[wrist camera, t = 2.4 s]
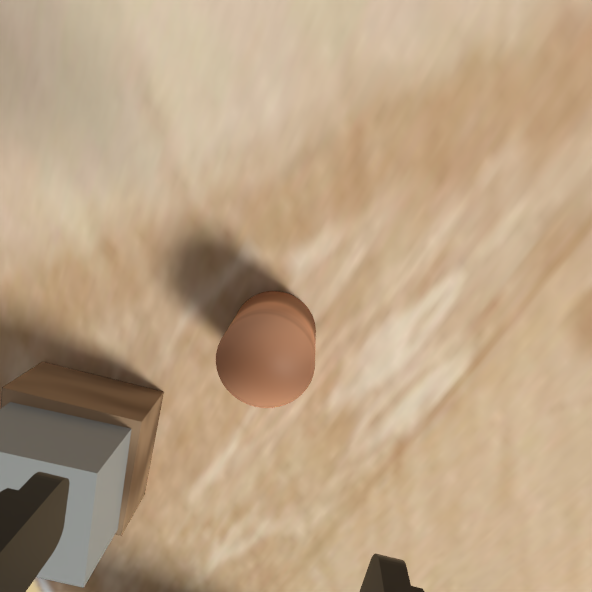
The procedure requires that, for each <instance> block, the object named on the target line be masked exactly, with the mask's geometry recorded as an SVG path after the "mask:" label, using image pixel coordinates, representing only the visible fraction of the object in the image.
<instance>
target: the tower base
mask: <svg viewBox="0 0 592 592" xmlns="http://www.w3.org/2000/svg"><path fill="white" fill-rule="evenodd" d="M163 393H164V392H163V391H159V390H155V389H150V388H146V387H142V386H138V385H134V384H130V383H126V382H122V381H118V380H114V379H110V378H106V377H102V376H98V375H94V374H90V373H86V372H82V371H78V370H74V369H70V368H66V367H62V366H58V365H54V364H50V363H46V362H41V363H39V364H38V365H36V366H35V367H33V368H32V369H30V370H29V371H27V372H26V373H24V374H23V375H21V376H19V377H18V378H16V379H15V380H13V381H12V382H10V383H9V384H7V385H6V386H4V387H3V388H2V399H1V408H2V407H4V406H5V405H7V404H8V403H10V402H13V403H17V404H22V405H26V406H31V407H35V408H40V409H45V410H49V411H54V412H58V413H63V414H67V415H72V416H76V417H81V418H85V419H90V420H94V421H99V422H104V423H108V424H113V425H117V426H122V427H126V428H131V436H130V444H129V451H128V458H127V465H126V473H125V480H124V487H123V495H122V502H121V509H120V516H119V524H118V530H117V531H116V533H115V534H116V535H120V536H122V534H123V532H124V531H125V529H126V527H127V525H128V523H129V522H130V520H131V518H132V516H133V514H134V513H135V511H136V509H137V507H138V505H139V504H140V502H141V500H142V498H143V496H144V495H145V490H146V485H147V479H148V474H149V469H150V463H151V458H152V452H153V447H154V442H155V436H156V431H157V426H158V420H159V415H160V410H161V404H162V399H163Z"/></svg>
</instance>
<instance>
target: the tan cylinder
mask: <svg viewBox="0 0 592 592" xmlns="http://www.w3.org/2000/svg"><path fill="white" fill-rule="evenodd" d="M315 333H316V330H315V322H314V319H313V316H312V314H311V312H310V310H309V309H308V308H307V306H306V305H305V304H304V303H303V302H302V301H301V300H299V299H298V298H296V297H295V296H293V295H291V294H288V293H285V292H280V291H267V292H262V293H259V294H257V295H255V296H253V297H251V298H250V299H248V300H247V301H246V302H245V303H244V304H243V305H242V307H241V308H240V310H239V311H238V313H237V314H236V316H235V318H234V319H233V321H232V323H231V324H230V326H229V327H228V329H227V331H226V332H225V334H224V336H223V337H222V339H221V341H220V343H219V345H218V349H217V353H216V366H217V371H218V375H219V377H220V379H221V381H222V383H223V385H224V386H225V387H226V389H227V390H228V391H229V392H230V393H231V394H232V395H233V396H235V397H236V398H237V399H239V400H240V401H242V402H244V403H246V404H249V405H252V406H256V407H261V408H273V407H279V406H283V405H286V404H288V403H290V402H292V401H294V400H295V399H297V398H298V397H299V396H300V395H301V394H302V393H303V392H304V391H305V390H306V389H307V387H308V386H309V384H310V382H311V380H312V377H313V374H314V369H315Z"/></svg>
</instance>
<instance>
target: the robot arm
mask: <svg viewBox="0 0 592 592" xmlns="http://www.w3.org/2000/svg"><path fill="white" fill-rule="evenodd" d="M69 484H70V483H69V479H68V478H64V477H60V476H56V475H52V474H48V473H44V472H37V473H35V474H34V475H33V476H32V477H31V478H30V479H29V480H28V481H27V482H26V483H25V484H24V485H23V486H22V487H21V488H20V489H19V490H15V489H11V488H6V489H4V490H3V491H1V492H0V592H26V590H27V589H28V587H29V586H30V585H31V583H32V582H33V580H34V579H35V578H36V576H37V575H38V573H39V572H40V571H41V569H42V568H43V566H44V565H45V564H46V562H47V561H48V559H49V558H50V557H51V555H52V554H53V552H54V550H55V549H56V547H57V545H58V543H59V540H60V538H61V535H62V532H63V529H64V523H65V515H66V508H67V500H68V493H69ZM360 592H424V590H423V589H422V588H417V587H413V586H411V585H410V580H409V576H408V572H407V567H406V564H405V562H404V561H403V560H400V559H396V558H391V557H387V556H383V555H379V554H374V555H373V556H372V558H371V561H370V564H369V567H368V570H367V572H366V575H365V578H364V581H363V584H362V586H361V589H360Z"/></svg>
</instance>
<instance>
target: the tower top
mask: <svg viewBox="0 0 592 592" xmlns="http://www.w3.org/2000/svg"><path fill="white" fill-rule="evenodd" d="M130 436H131V428H126V427H122V426H117V425H113V424H108V423H104V422H99V421H94V420H90V419H85V418H81V417H76V416H72V415H67V414H63V413H58V412H54V411H49V410H45V409H40V408H35V407H31V406H26V405H22V404H17V403H13V402H10V403H8V404H7V405H5V406H4V407H2V408H1V409H0V492H1V491H3V490H4V489H6V488H11V489H15V490H19V489H20V488H21V487H22V486H23V485H24V484H25V483H26V482H27V481H28V480H29V479H30V478H31V477H32V476H33V475H34V474H35V473H37V472H44V473H48V474H52V475H56V476H60V477H64V478H68V479H69V483H70V484H69V493H68V500H67V508H66V515H65V523H64V529H63V532H62V535H61V538H60V540H59V543H58V545H57V547H56V549H55V550H54V552H53V554H52V555H51V557H50V558H49V559H48V561H47V562H46V564H45V565H44V566H43V568H42V569H41V571H40V572H39V573H38V575H37V576H36V577H37V578H42V579H46V580H51V581H56V582H60V583H65V584H69V585H74V586H78V587H83V588H84V586H85V585H86V583H87V581H88V580H89V578H90V576H91V574H92V573H93V571H94V569H95V568H96V566H97V564H98V562H99V561H100V559H101V557H102V556H103V554H104V552H105V550H106V549H107V547H108V545H109V543H110V542H111V540H112V538H113V537H114V535H115V533H116V531H117V530H118V524H119V516H120V509H121V502H122V495H123V487H124V480H125V473H126V465H127V458H128V451H129V444H130Z"/></svg>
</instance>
